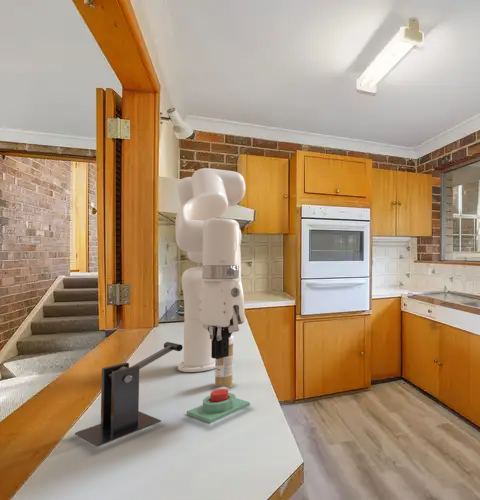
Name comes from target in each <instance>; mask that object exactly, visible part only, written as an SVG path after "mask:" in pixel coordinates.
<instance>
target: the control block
mask: <svg viewBox="0 0 480 500" xmlns="http://www.w3.org/2000/svg"><path fill="white" fill-rule="evenodd" d="M249 406H251V402H250V401H247V400H245V399H240V398H237V397H236V395H235V393H232V392H228V399H227V400H225V401H221V402H210V395H207V396H206V397H204V398H203V400H202V404H201V405H199V406H196V407H194V408H190V409H189V410H187V411H186V415H187V416H190V417H192V418H196V419H198V420H200V421H202V422H206V423H208V424H212V423H214V422H217V421H219V420H221V419H224V418H225V417H227V416H230V415H233V414H235V413H236V412H238V411H241V410H243V409H245V408H247V407H249Z"/></svg>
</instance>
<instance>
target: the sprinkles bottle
mask: <svg viewBox="0 0 480 500" xmlns="http://www.w3.org/2000/svg"><path fill="white" fill-rule="evenodd" d="M234 344H235V337H234V335H231V338H229V355H228V356H227V357H223V358H220V359H216V361H215V368H214V376H215V377H214V386H216V387H220V388H221V387H223V388H226V389H227V388H228V389H231V388H232V387H233V386H234V383H233V374H234Z"/></svg>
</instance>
